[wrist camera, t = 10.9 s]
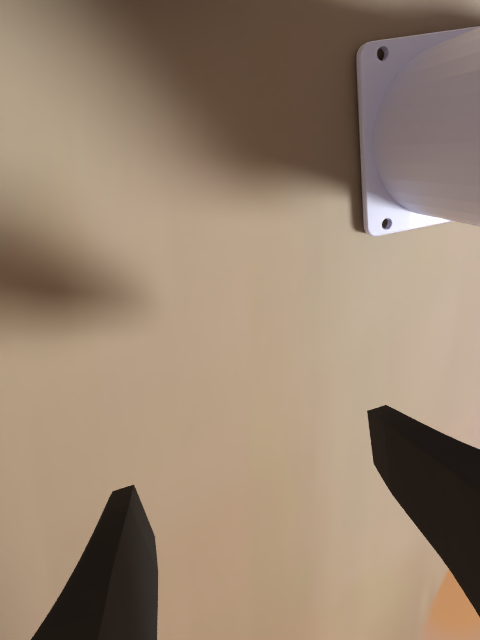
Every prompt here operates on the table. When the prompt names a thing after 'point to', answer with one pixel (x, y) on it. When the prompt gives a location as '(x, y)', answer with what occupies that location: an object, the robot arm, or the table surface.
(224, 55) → the table surface
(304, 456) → the table surface
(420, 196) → the robot arm
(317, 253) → the table surface
